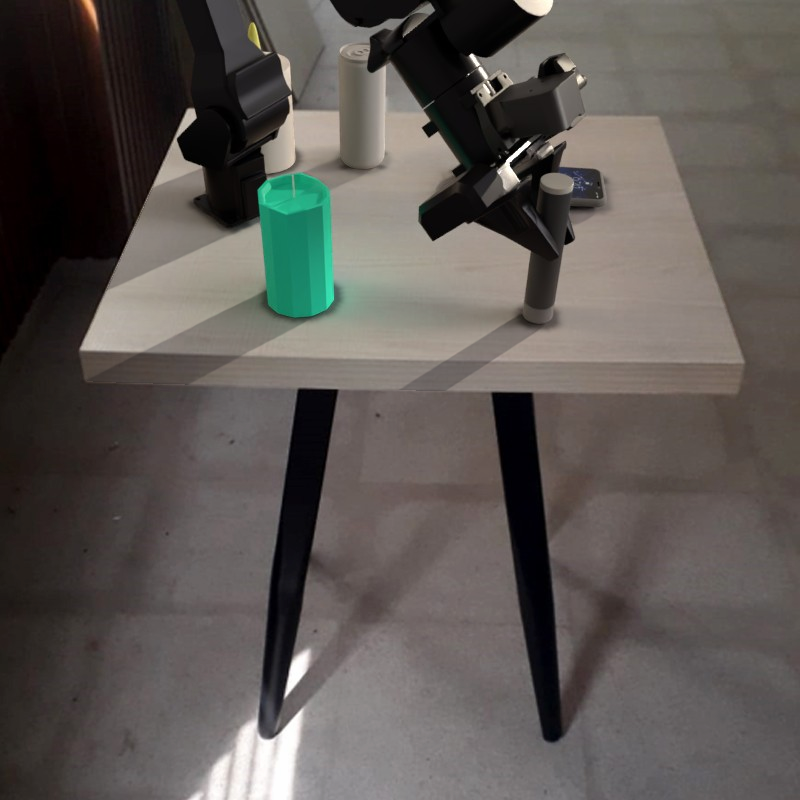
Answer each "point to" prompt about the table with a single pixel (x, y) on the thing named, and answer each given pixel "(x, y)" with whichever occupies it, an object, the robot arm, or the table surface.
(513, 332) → the table surface
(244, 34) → the robot arm
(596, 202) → the smartphone
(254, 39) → the candle
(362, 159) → the beverage can
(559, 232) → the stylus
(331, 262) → the candle
